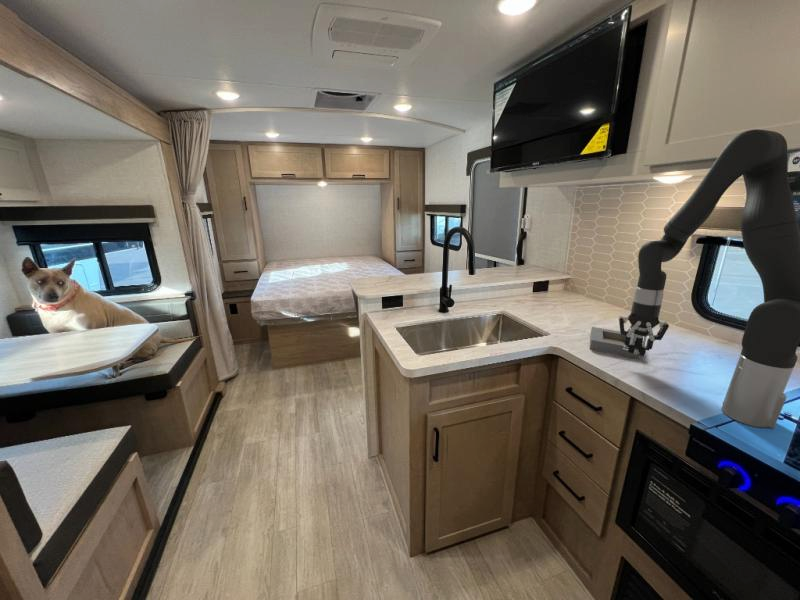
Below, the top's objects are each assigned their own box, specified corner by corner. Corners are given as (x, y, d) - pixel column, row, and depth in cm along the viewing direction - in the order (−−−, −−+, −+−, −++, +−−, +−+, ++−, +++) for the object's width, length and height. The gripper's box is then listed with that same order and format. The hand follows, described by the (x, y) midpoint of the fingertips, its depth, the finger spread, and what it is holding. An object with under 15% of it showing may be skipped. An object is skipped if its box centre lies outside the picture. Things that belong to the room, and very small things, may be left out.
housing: (634, 343, 131) (636, 334, 130) (639, 358, 118) (641, 349, 116) (590, 335, 139) (591, 326, 137) (589, 349, 125) (591, 339, 124)
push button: (621, 352, 111) (626, 325, 109) (624, 347, 115) (629, 321, 112) (644, 358, 107) (650, 330, 104) (647, 353, 110) (653, 326, 108)
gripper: (622, 301, 106) (613, 347, 110) (677, 307, 99) (665, 356, 103) (620, 295, 112) (612, 340, 117) (672, 301, 105) (661, 348, 110)
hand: (637, 347), depth 110 cm, fingers closed on push button, 5 cm apart
